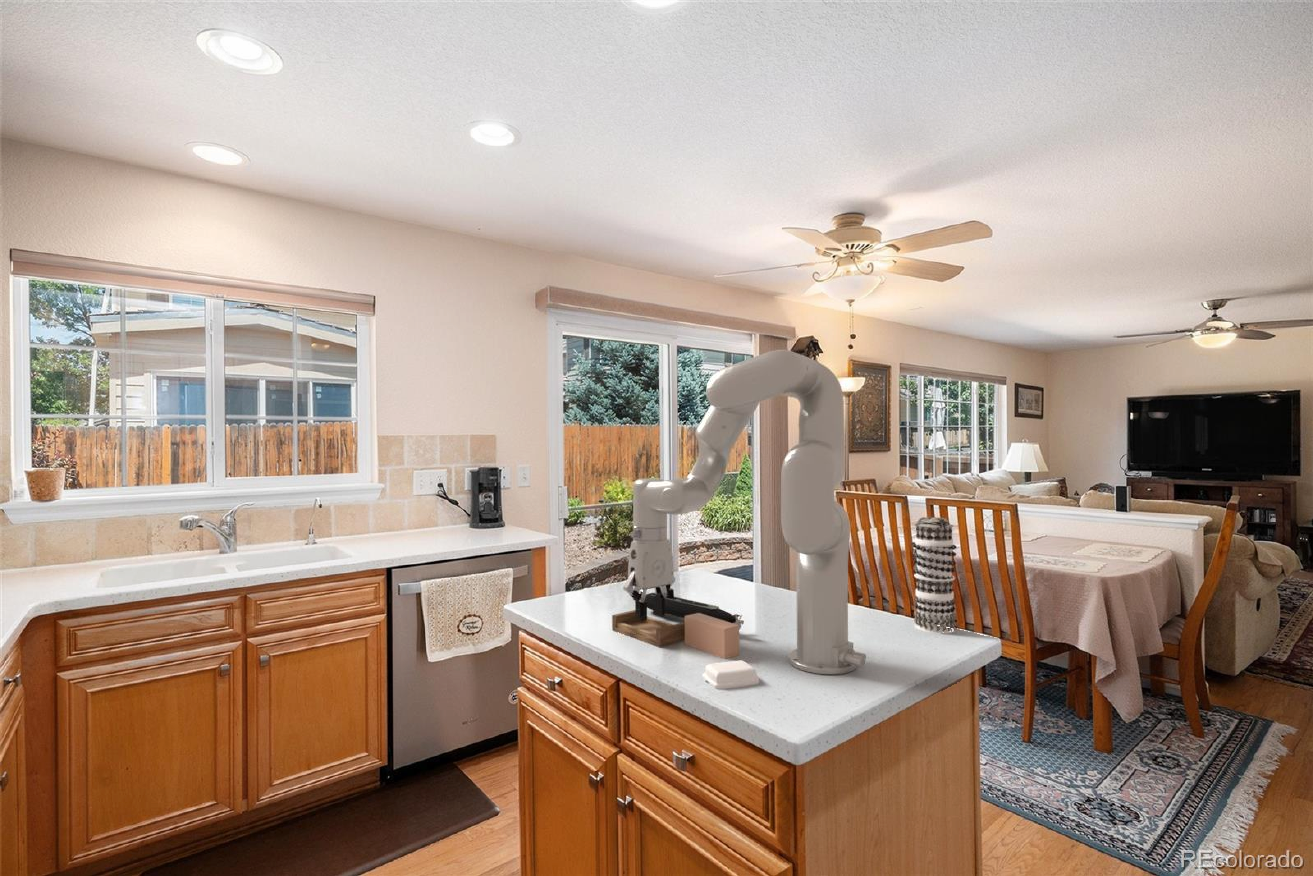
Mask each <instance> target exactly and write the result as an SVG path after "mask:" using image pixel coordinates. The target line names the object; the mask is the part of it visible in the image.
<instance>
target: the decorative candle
mask: <svg viewBox="0 0 1313 876" xmlns="http://www.w3.org/2000/svg"><path fill="white" fill-rule="evenodd" d="M913 525H914V526H915V537H914V541H913V542H911V545H912V547H913V548H914V549H913V551H912V552H911V554H912V555H913V556H914V557H913V558H912V561H913V563H914V567H912V569H913V570H914V573H913V577H914V578H915V579H916V582H915V583H916V588H915V596H914V597H913V599H914V601H915V602H916V603H914V604H913V606H914V608H915V610H914V612H913V615H914V616H915V618H914V620H913V621H914V623H915V625H914V628H917V629H916V630H919V631H921V632H924V633H929V632H935V633H934V634H936V633H943V632H944V633H948V634H952V629H951V628H954V629H955V626H956V625H957V624H956V622H955V620H956V619H957V616H956V615H955V613H954V612H955V611H956V608H955V606H954V605H955V604H956V600H955V599H954V598H955V597H954V596H955V595H954V592H955V591H953V590H954V589H953V588H954V587H953V586H954V584H953V581H954V580H956V577H955V576H954V575H953V573H955V572H956V570H957V569H956V568H954V566H955V565H956V564H957V563H956V561H954V559H953V558H955V557H956V556H957V553H956V551H955V550H956V549H957V545H955V544H954V539H953V527H954V525H952V524H951V522H950V521H949V520H948V519H947V518H944V517H935V516H934V517H930V516H929V517H928V516H927V517H925V516H924V517H921V518H919V519H918V521H917V522H916V523H914V524H913ZM937 625H940V626H937ZM946 627H950V628H946ZM949 631H951V632H949ZM955 632H956V630H955V631H953V633H955Z"/></svg>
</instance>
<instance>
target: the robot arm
mask: <svg viewBox="0 0 1313 876" xmlns="http://www.w3.org/2000/svg"><path fill="white" fill-rule="evenodd" d="M705 395H706V399H707V401H708V403H709V404H710V405H709V407H708V408H707V410H706V412H705V414H704V415H703V417H702V419H701V421H700V423H699V424H698V425H697V428H696V429H695V437H696V439H697V442H698V445H699V453H698V456H697V459H696V461H695V463H694V465H693V467H692V468H691V470H690V472H689V474H688V475H687V476H686V477H681V478H674V479H665V480H664V479H663V478H652V477H651V478H650V477H649V478H648V477H647V478H638V479H636V480H635V481H634V482H633V486H632V487H633V488H632V489H633V491H632V493H633V494H632V495H633V497H632V499H633V500H632V504H633V505H632V515H633V517H632V520H633V521H632V522H633V524H632V525H633V527H632V529H633V530H632V531H630V538H632V539H633V540H632V541H631V542H630V548H629V554H628V564H627V565H628V566H627V580H626V581H625V583H624V585H623V588H622V589H623V591H625V592H626V593H627V594H629V596H630V597H631V598H632V600H633V601H634V606H635V608H634V610H635V617H636V618H637V619H640V620H643V621H645V620H647V617H648V608H647V602H644V601H645V596H646V595H647V590H651V589H654V593H655V594H656V596H654V597H653V610H652V613H653V614H654V615H656V616H660V617H665V615H666V614H665V598H666V597H667V592H668V591H669V589H670V588H672V586H673V585H674V584H675V582H676V577H675V576H674V575H675V572H674V570H675V568H674V556H673V549H672V544H671V543H672V542H671V540H670V539H669V538H668V515H671V516H672V515H675V516H676V515H677V516H678V515H682V514H687V513H692V512H696V511H699V510H701V509H703V508H704V507H705V506H706V505H707V504H709V502H710V500H711V499H712V498H713V496H714V494H715V493H716V491H717V489H719V486H720V484H721V483H722V481H723V479H724V477H725V474H726V471H727V468H728V465H729V462H730V455H731V452H732V450H733V448H734V446H735V445H736V443H737V441H738V439H739V437H740V436H741V434H742V433H743V430H745V428H746V426H747V424H748V423H749V422H750V420H751V418H752V416H753V415H754V413H755V411H756V410H757V408H758V406H759V404H760V403H761V402H763V401H766V400H768V399H772V398H776V397H779V396H782V397H787V398H788V397H790V398H794V399H797V400H798V402H799V405H800V408H799V415H798V444H796V445H794V446H793V447H791V449H789V451H788V452H787V453H786V455H785V457H784V459H783V462H782V464H781V471H780V474H781V475H780V477H781V478H780V509H781V511H780V519H781V520H780V521H781V524H780V525H781V531H782V535H783V538H784V540H785V542H786V543H787V545H788V546H789V548H791V549H792V550H793V551H795V552H796V553H797V555H796V557H797V559H796V580H795V581H796V649H794V650H792V651H791V652H790V653H789V654H788V663H789V664H790V665H791V666H792V667H795V669H798V670H801V671H804V672H807V673H812V674H818V675H827V676H828V675H830V676H831V675H842V674H843V675H844V674H848V673H851V672H852V671H855V670H856V669H857V667H858V668H864V667H865V665H866V663H867V662H866V659H867V655H866V653H864V652H859V651H855V649H854V642H852V641H850V640H849V622H848V621H849V606H848V605H849V602H848V601H849V599H848V598H849V597H848V596H849V595H848V594H849V593H848V591H849V589H848V587H849V586H848V585H849V573H848V572H849V550H850V538H851V536H850V535H851V523H850V518H849V515H848V513H847V511H846V510H845V508H844V506H842V504H840V503H839V502H838V501H836V500H835V488H836V487H837V486H838V485H840V484H841V482H842V481H843V479H844V477H845V473H846V455H845V453H846V452H845V446H846V444H845V436H846V435H845V434H846V433H845V405H844V403H845V402H844V394H843V389H842V386H841V384H840V381H839V380H838V377H837V376H836V374H835V373H834V372H833V371H832V370H831V369H830V368H828V366H826V365H824V364H823V363H820V362H819V361H817V360H815V359H813V358H810V357H808V356H806V355H803V354H801V353H797V352H794V351H792V350H789V349H776V350H769V351H767V352H764V353H762V354H758V355H756V356H754V357H751V358H748V359H746V360H745V359H744V360H742V361H739V362H736V363H733V364H730V365H728V366H725V367H722V368H721V369H719V370H717V371H716V372H714V373H713V374H712V375H711V377H710V378H709V379H708V382H707V383H706V388H705Z"/></svg>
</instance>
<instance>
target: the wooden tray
mask: <svg viewBox="0 0 1313 876" xmlns="http://www.w3.org/2000/svg"><path fill="white" fill-rule="evenodd" d="M611 618H612V621H611V622H612V623H611V625H612V628H611V629H612V630H613V632H615V633H618V632H619V633H618V634H620V633H621V634H622V635H623V634H624V636H627V637H629V636H630V637H629V638H632V639H634V638H635V640H637V641H640V642H643V641H644V643H646V644H649V645H652V646H655V647H657V646H658V648H663V647H666V646H670V645H673V644H676V643H680V642H683V641H685V621H682V622H678V623H674V624H673V623H669V622H666V621H663V620H660V619H657V618H654V617H649V616H647V620H645V621H643V620H640V619H637V618H636V617H635V609H634V610H629V611H626V612H620V613H616V614H613V615H612V616H611Z"/></svg>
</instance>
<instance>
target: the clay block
mask: <svg viewBox="0 0 1313 876" xmlns="http://www.w3.org/2000/svg"><path fill="white" fill-rule="evenodd" d="M684 622H685V640H684V644H685V645H687V646H690V647H693V648H694V649H697V650H700V651H702V652H706V653H708V654H711V655H713V656H716V657H719V658H720V659H723V660H725V659H729V658H732V657H737V656H739V655H740V629H739V625H736V624H733V623H730V622H727V621H724V620H720V619H717V618H714V617H711V616H707V615H704V614H701V613H696V614H691V615H687V616H685V618H684Z"/></svg>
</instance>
